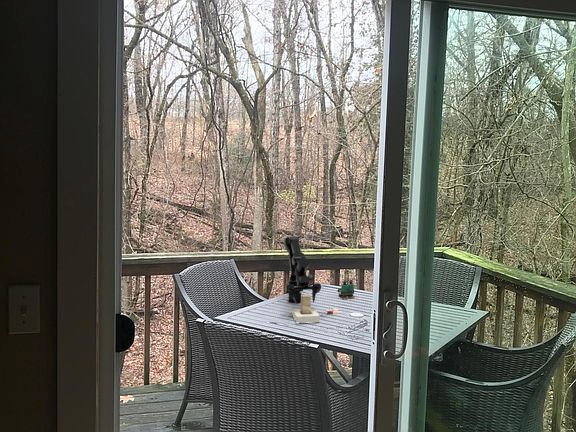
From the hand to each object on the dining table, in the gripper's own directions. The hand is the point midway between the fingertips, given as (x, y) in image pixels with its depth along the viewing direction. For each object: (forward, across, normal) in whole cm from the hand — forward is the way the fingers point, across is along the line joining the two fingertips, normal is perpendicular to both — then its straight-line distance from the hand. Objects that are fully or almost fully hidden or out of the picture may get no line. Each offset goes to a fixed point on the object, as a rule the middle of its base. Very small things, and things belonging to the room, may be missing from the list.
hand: (305, 302), depth 324 cm
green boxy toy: (-16, +31, +29) cm, 46 cm away
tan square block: (+7, 0, +5) cm, 9 cm away
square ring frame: (+7, 0, +5) cm, 9 cm away
